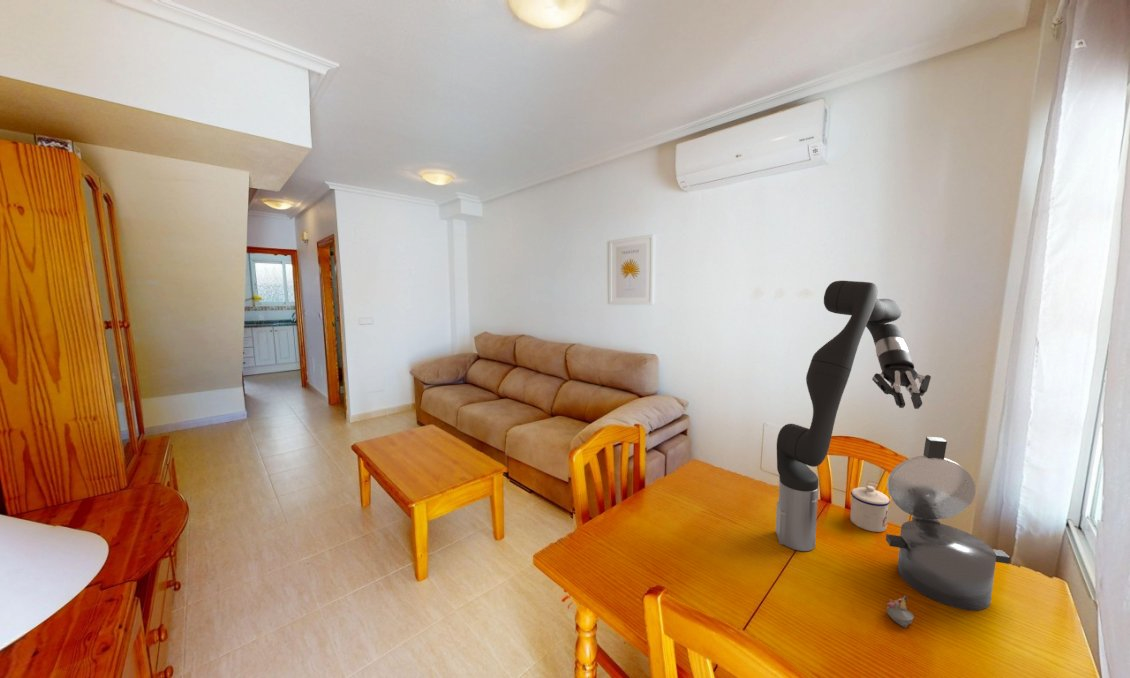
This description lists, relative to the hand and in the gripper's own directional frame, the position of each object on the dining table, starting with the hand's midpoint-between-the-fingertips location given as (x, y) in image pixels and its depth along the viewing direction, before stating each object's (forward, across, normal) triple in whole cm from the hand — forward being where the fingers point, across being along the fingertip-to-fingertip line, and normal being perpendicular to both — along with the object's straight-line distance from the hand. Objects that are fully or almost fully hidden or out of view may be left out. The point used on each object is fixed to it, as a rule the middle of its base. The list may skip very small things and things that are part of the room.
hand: (910, 406), depth 108 cm
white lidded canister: (+24, -7, +28) cm, 38 cm away
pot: (+41, 0, +11) cm, 42 cm away
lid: (+20, 0, +1) cm, 20 cm away
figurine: (+52, -14, +1) cm, 54 cm away
